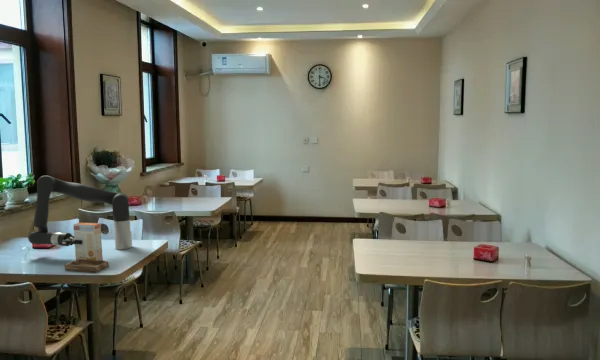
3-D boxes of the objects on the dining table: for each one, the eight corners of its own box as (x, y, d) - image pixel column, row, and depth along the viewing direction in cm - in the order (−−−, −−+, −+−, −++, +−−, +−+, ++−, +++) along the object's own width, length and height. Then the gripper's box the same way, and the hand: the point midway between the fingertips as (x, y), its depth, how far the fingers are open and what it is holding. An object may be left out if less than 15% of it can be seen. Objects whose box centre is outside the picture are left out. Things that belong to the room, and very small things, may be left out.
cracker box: (103, 259, 282) (101, 223, 280) (95, 262, 277) (93, 225, 274) (83, 257, 287) (80, 221, 284) (75, 260, 281) (72, 223, 279)
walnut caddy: (79, 264, 273) (79, 259, 273) (108, 266, 268) (108, 261, 268) (65, 270, 263) (64, 264, 263) (95, 272, 258) (94, 267, 258)
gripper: (51, 235, 278) (76, 237, 273) (70, 229, 292) (94, 231, 287) (52, 248, 279) (77, 250, 274) (71, 242, 293) (95, 244, 288)
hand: (86, 240), depth 281 cm, fingers open, 6 cm apart
